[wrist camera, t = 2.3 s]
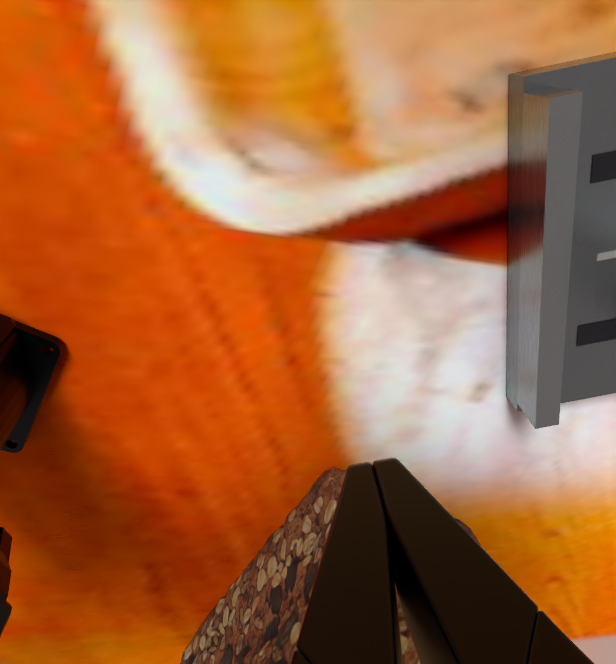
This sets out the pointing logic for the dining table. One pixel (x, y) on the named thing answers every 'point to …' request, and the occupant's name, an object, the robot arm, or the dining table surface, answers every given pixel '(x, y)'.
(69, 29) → the dining table surface
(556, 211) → the console
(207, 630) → the bread
